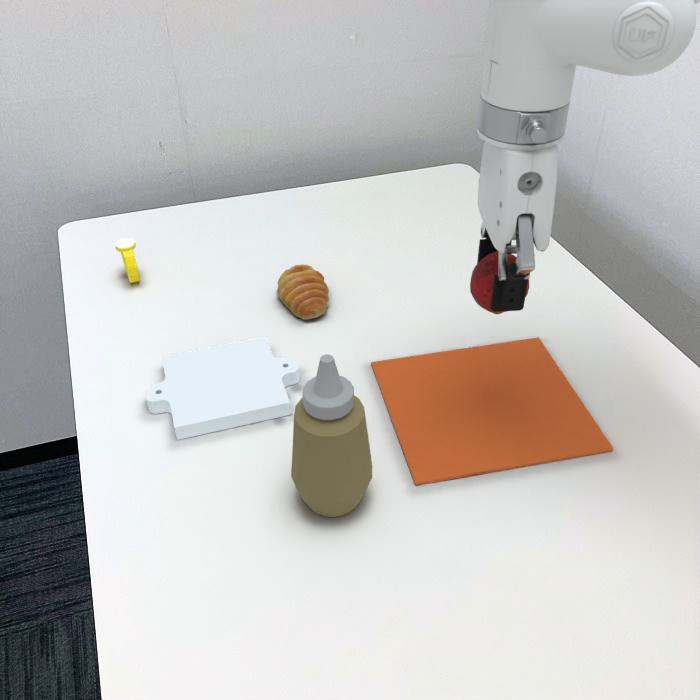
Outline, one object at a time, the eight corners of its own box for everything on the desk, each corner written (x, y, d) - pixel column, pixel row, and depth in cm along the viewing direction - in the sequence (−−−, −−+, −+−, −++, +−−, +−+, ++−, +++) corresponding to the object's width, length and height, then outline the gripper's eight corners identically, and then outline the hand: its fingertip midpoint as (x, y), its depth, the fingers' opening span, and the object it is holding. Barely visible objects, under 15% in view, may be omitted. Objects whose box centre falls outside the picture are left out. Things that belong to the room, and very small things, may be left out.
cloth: (538, 339, 94) (538, 337, 94) (612, 451, 79) (613, 448, 79) (371, 364, 91) (370, 361, 91) (415, 485, 76) (415, 483, 76)
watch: (120, 269, 109) (111, 234, 105) (139, 265, 110) (130, 230, 106) (127, 290, 105) (118, 254, 101) (146, 286, 106) (138, 250, 102)
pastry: (339, 317, 99) (338, 293, 96) (290, 327, 97) (288, 304, 95) (319, 280, 106) (318, 258, 103) (274, 290, 104) (271, 267, 102)
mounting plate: (286, 343, 95) (285, 332, 93) (312, 409, 85) (311, 397, 84) (143, 372, 91) (140, 360, 89) (154, 445, 81) (150, 432, 80)
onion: (480, 333, 74) (488, 266, 69) (458, 302, 78) (465, 236, 73) (533, 323, 75) (545, 256, 70) (509, 293, 80) (518, 227, 75)
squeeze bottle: (283, 519, 73) (267, 381, 61) (306, 459, 79) (295, 325, 68) (362, 534, 71) (361, 396, 60) (380, 472, 77) (382, 336, 66)
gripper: (597, 157, 57) (559, 340, 69) (538, 82, 71) (514, 245, 82) (502, 161, 57) (479, 344, 68) (460, 85, 70) (447, 248, 82)
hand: (499, 289), depth 75 cm, fingers closed on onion, 5 cm apart
